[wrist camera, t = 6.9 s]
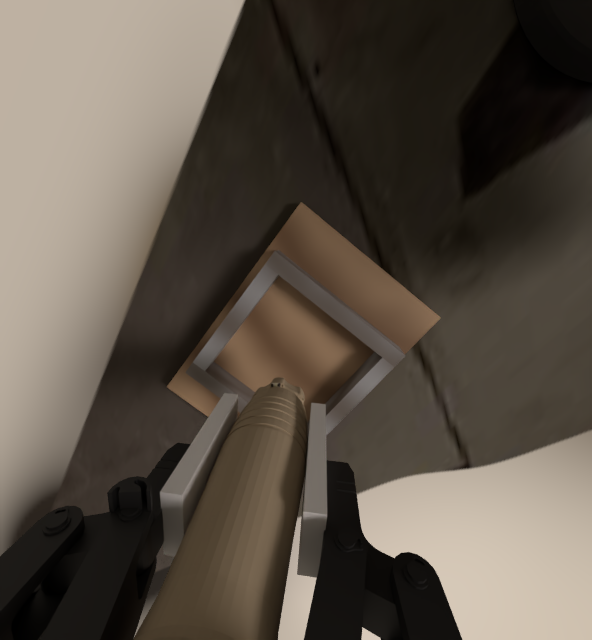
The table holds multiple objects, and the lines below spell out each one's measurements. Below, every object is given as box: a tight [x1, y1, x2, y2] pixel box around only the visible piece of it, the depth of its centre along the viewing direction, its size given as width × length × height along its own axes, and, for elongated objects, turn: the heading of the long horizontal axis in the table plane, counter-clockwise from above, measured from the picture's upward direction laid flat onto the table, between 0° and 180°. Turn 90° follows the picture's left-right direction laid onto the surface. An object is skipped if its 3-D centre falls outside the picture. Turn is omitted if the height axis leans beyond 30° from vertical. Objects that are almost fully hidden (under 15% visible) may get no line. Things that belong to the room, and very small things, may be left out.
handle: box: [133, 377, 308, 640], centre depth 12 cm, size 5×6×15 cm
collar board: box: [167, 202, 441, 435], centre depth 25 cm, size 20×14×3 cm
